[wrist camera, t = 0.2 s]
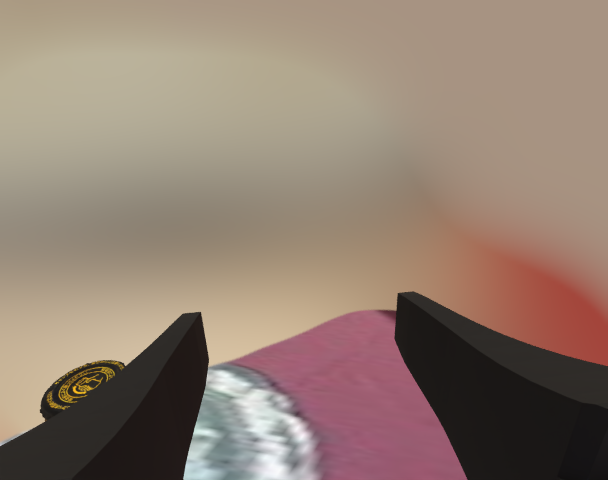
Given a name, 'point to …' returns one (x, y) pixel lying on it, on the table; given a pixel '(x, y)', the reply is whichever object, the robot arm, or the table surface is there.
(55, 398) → the condiment
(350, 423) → the table surface
